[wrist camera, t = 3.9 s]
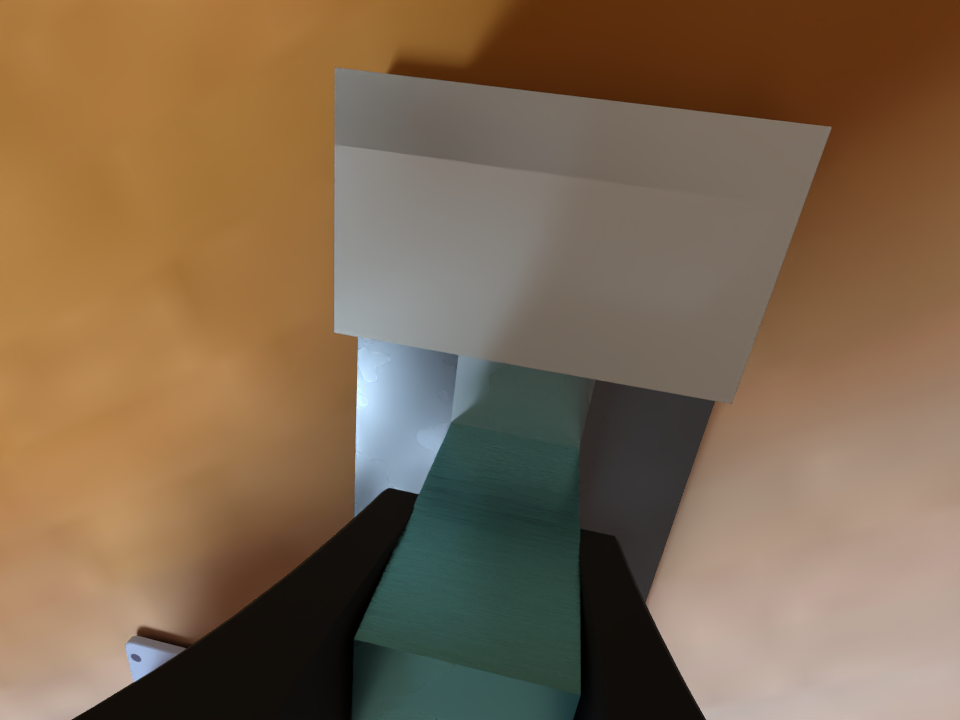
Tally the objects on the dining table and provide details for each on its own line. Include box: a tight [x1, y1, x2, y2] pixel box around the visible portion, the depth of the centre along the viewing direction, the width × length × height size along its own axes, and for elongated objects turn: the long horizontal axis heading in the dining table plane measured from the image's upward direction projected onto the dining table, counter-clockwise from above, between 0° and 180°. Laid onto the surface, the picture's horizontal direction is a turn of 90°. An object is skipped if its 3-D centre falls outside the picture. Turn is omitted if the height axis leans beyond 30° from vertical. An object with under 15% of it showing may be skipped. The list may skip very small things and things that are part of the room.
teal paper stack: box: [352, 355, 595, 720], centre depth 11 cm, size 16×3×8 cm, turn 173°
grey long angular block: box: [354, 337, 715, 602], centre depth 15 cm, size 25×10×6 cm, turn 173°
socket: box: [334, 68, 832, 404], centre depth 10 cm, size 4×7×5 cm, turn 83°
